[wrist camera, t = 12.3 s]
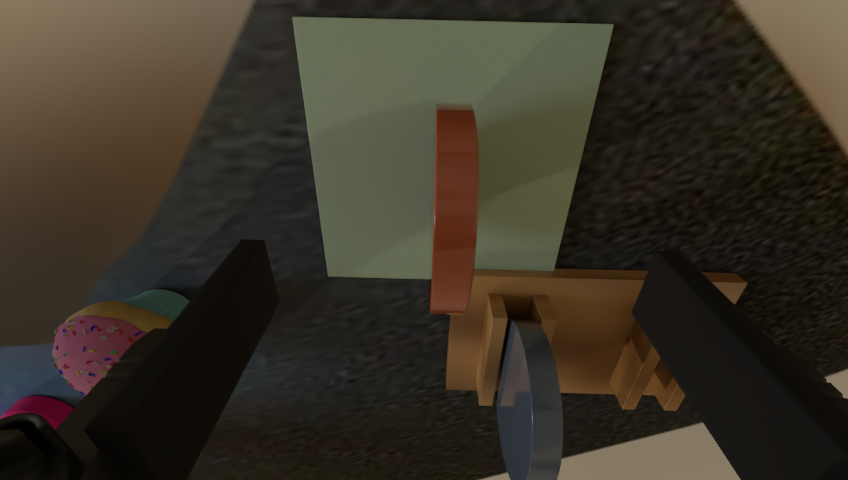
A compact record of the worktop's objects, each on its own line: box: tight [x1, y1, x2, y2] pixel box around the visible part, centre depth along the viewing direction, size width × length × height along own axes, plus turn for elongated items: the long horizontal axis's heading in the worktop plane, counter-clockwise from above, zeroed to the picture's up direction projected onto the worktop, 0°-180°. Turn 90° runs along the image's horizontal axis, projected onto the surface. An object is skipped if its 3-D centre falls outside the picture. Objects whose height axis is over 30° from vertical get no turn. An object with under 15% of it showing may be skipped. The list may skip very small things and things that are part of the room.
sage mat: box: [292, 17, 614, 279], centre depth 23 cm, size 16×16×1 cm
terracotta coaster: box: [429, 102, 479, 315], centre depth 18 cm, size 10×2×10 cm, turn 179°
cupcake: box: [51, 289, 190, 396], centre depth 24 cm, size 9×8×12 cm
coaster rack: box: [446, 268, 747, 411], centre depth 28 cm, size 12×20×4 cm, turn 89°
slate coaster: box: [496, 319, 563, 480], centre depth 24 cm, size 10×2×10 cm, turn 179°
